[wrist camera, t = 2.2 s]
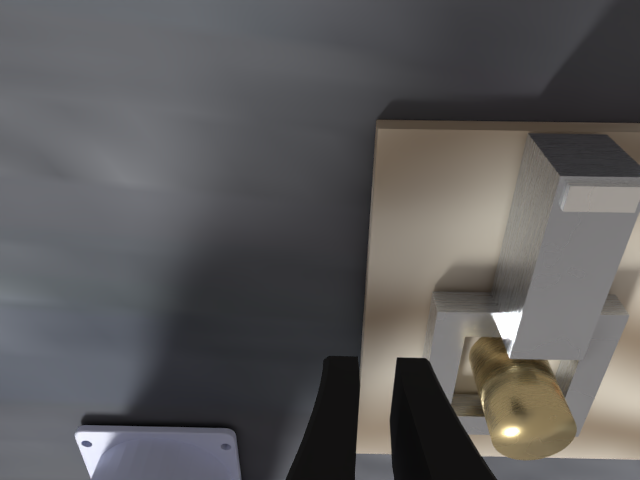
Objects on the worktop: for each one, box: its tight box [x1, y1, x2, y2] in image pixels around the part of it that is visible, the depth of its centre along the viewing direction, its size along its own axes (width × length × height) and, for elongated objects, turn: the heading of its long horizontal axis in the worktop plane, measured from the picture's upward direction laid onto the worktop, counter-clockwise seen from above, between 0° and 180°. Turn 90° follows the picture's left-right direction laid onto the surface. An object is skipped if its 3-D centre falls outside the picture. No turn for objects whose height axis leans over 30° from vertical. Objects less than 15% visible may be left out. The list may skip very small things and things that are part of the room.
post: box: [469, 337, 577, 460], centre depth 21 cm, size 3×3×4 cm
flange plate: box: [422, 133, 640, 437], centre depth 20 cm, size 14×7×3 cm, turn 0°
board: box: [356, 120, 640, 460], centre depth 23 cm, size 17×16×1 cm
